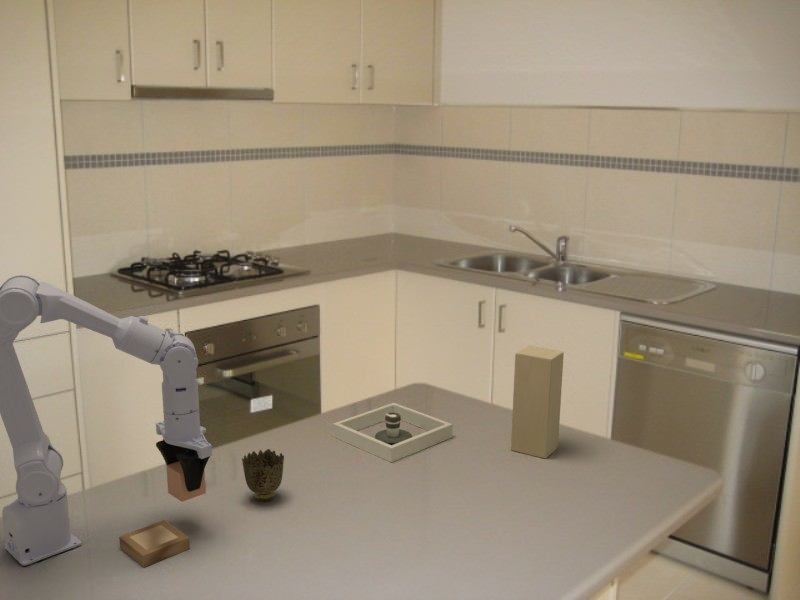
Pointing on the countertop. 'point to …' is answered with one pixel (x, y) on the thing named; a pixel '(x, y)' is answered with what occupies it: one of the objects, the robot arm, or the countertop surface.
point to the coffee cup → (392, 430)
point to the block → (181, 483)
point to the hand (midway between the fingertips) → (185, 484)
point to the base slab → (154, 543)
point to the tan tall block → (536, 401)
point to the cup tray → (434, 435)
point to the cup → (263, 473)
